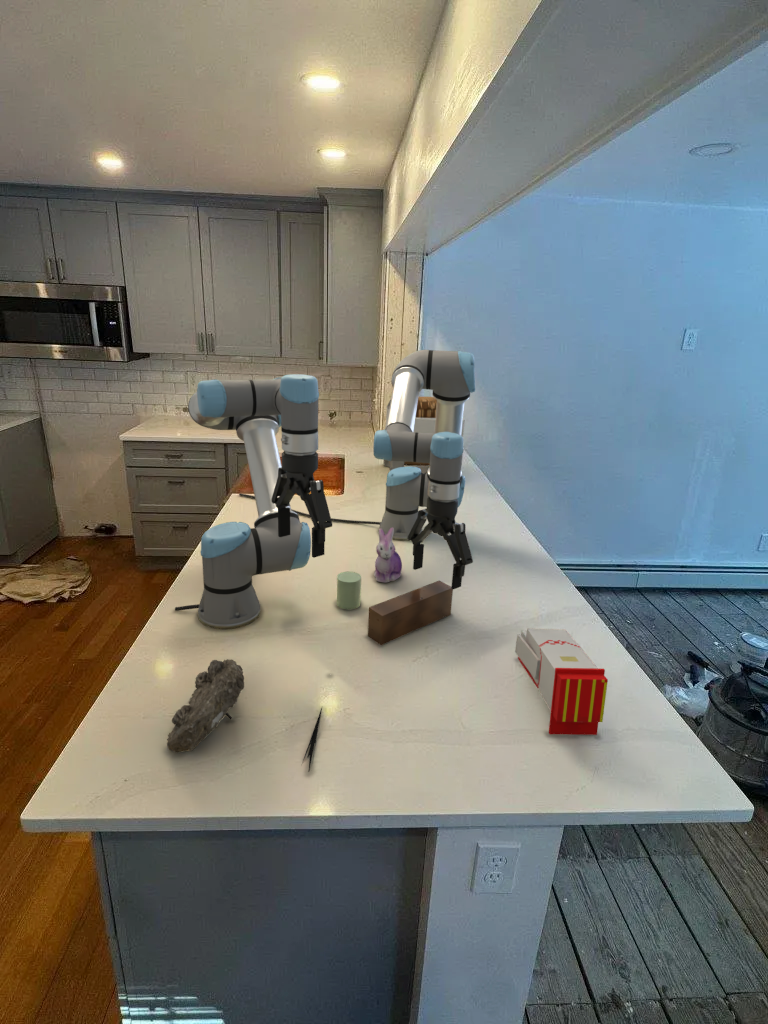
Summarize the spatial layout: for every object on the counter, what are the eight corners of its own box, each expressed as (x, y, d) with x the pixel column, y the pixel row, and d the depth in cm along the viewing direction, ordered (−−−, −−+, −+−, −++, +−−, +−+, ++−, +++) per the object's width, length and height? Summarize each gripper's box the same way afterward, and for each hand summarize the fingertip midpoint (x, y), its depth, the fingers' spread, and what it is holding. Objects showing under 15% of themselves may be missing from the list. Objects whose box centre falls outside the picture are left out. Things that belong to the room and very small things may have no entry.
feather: (331, 679, 122) (336, 673, 122) (307, 777, 96) (313, 769, 95) (324, 675, 122) (329, 669, 121) (298, 772, 95) (304, 764, 95)
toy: (561, 612, 132) (617, 675, 103) (556, 665, 135) (608, 741, 106) (510, 611, 132) (551, 674, 102) (505, 664, 134) (544, 741, 105)
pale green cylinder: (331, 602, 152) (332, 575, 149) (350, 595, 156) (351, 569, 153) (346, 612, 147) (346, 584, 145) (365, 604, 151) (366, 577, 149)
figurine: (381, 586, 161) (383, 537, 156) (365, 571, 170) (367, 525, 165) (409, 580, 165) (412, 533, 160) (393, 566, 174) (395, 521, 169)
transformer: (382, 463, 289) (386, 382, 275) (445, 464, 293) (451, 384, 279) (390, 482, 257) (394, 392, 243) (460, 483, 261) (468, 394, 247)
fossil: (192, 660, 117) (244, 628, 112) (224, 691, 120) (276, 661, 115) (142, 746, 98) (202, 712, 93) (182, 779, 101) (242, 748, 96)
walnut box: (380, 645, 133) (382, 615, 131) (367, 636, 137) (368, 607, 134) (450, 614, 148) (453, 587, 146) (437, 607, 152) (439, 580, 149)
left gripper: (254, 441, 124) (257, 531, 132) (319, 467, 107) (318, 569, 114) (284, 437, 129) (285, 524, 136) (350, 462, 111) (348, 560, 119)
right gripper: (396, 487, 143) (392, 564, 150) (471, 515, 125) (463, 600, 132) (418, 483, 148) (413, 557, 155) (493, 509, 130) (484, 592, 137)
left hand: (300, 545), depth 125 cm, fingers open, 13 cm apart
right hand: (436, 577), depth 144 cm, fingers open, 13 cm apart
